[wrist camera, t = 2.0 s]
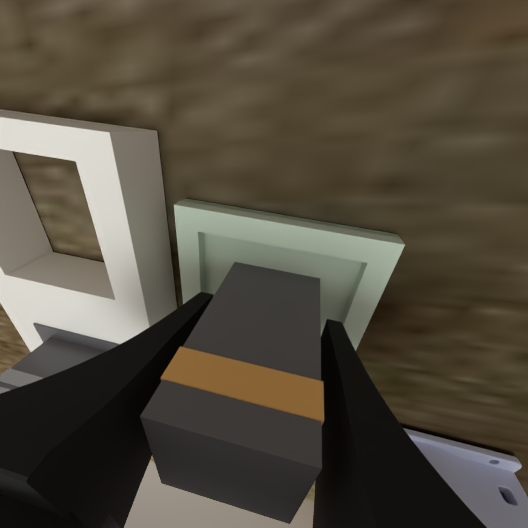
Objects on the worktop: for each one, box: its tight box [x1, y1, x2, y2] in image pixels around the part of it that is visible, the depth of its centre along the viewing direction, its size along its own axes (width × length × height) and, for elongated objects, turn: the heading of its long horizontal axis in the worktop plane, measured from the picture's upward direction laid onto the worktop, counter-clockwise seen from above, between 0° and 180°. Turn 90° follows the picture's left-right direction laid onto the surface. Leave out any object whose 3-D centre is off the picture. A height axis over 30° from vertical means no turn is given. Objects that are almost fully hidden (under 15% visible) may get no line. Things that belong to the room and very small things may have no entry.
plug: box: [140, 262, 324, 524], centre depth 9 cm, size 4×4×7 cm
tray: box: [174, 198, 405, 351], centre depth 12 cm, size 9×9×1 cm
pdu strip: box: [0, 109, 177, 394], centre depth 12 cm, size 9×18×6 cm, turn 174°
